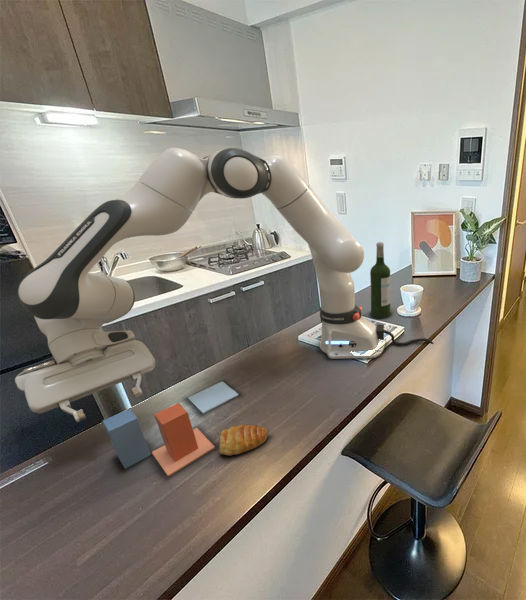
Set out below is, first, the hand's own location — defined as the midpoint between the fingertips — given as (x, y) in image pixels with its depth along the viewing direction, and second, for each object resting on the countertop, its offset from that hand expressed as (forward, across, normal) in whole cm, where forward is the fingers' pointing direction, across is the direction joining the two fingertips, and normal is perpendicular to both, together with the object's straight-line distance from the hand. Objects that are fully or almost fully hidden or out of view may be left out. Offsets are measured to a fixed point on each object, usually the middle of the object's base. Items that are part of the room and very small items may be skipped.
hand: (111, 407), depth 68 cm
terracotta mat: (+16, +7, -1) cm, 17 cm away
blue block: (+11, 0, +3) cm, 11 cm away
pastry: (+21, +16, -7) cm, 27 cm away
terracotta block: (+15, +7, -2) cm, 17 cm away
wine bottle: (+7, +86, +8) cm, 87 cm away
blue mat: (+6, +19, +8) cm, 22 cm away
